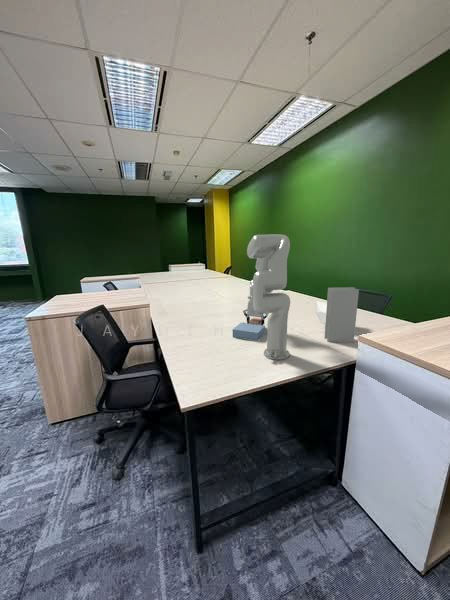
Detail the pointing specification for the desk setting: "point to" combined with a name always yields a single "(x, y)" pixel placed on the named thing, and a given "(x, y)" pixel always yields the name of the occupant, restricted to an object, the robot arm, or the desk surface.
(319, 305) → the folded paper
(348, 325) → the tall grey block
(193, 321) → the desk surface
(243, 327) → the block
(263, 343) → the desk surface
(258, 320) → the stub
